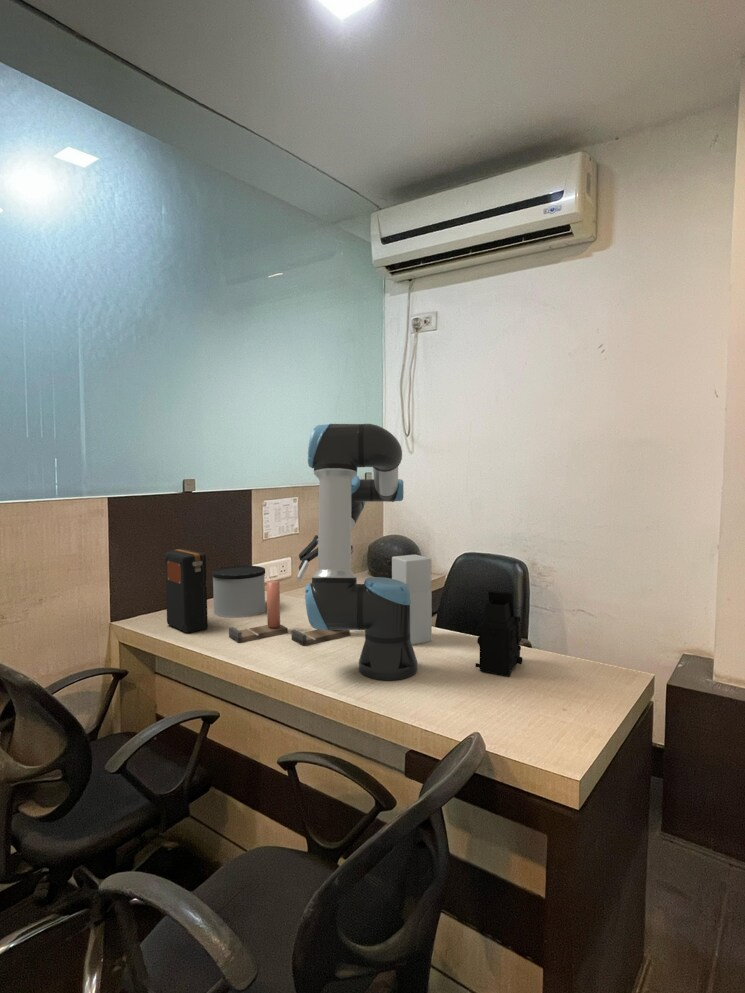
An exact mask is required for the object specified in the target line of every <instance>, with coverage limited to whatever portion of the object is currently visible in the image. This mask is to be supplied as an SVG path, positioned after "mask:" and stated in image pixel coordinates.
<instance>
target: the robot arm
mask: <svg viewBox="0 0 745 993" xmlns="http://www.w3.org/2000/svg"><path fill="white" fill-rule="evenodd" d="M308 441H309V442H308V445H307V447H308V448H307V464H308V467H309V468H311V469H313V474H314V476H315V477H316V478H318V480H319V485H318V489H319V490H318V493H319V494H318V535H317V534H316V535H314V537H313V539H312V541H311V542H310V543H308V545H307V546H305V547H304V549H302V551H301V552H300V553H299V554H298V557H299V561H301V562H300V564H299V565H298V570H299V572H298V573H297V575H296V578H297V582H301V581H302V579H303V577H304V575H305V573H306V570H307V569H308V567H309V563H310V562H311V561H312V560H314V559H315V558H317V571H316V572H315V573H314V574H313V575H312V576H311V583H310V582H309V583H308V584H306V585H305V591H304V593H305V594H304V599H305V609H306V610H305V611H306V615H307V619H308V622H309V624H310V627H312V628H313V630H317V629H320V630H328V631H330V630H350V631H364V633H365V634H364V636H365V638H364V639H365V640H364V642H363V646H362V649H361V653H360V656H359V659H358V672H359V673H360V675H363V676H364V677H367V678H370V679H372V680H379V681H396V680H404V679H406V678H410V677H412V676H413V675H415V674H417V672H418V659H417V656H416V653H415V650H414V647H413V645H412V643H411V640H410V604H411V600H410V590H409V587H408V586H407V585H406V584H405V583H403V582H401V581H398V580H395V579H392V578H389V577H380V576H375V577H373V576H371V577H367V578H365V580H364V583H358V582H357V581H358V580H357V579H358V576H357V575H356V574H355V573H354V572H353V571H352V554H353V552H354V547H353V545H352V532H353V530H354V528H355V526H356V523H357V522H358V519H360V516H361V514H362V511H363V510H364V508H365V505H366V503H367V502H368V503H369V502H371V503H373V502H378V503H379V502H382V503H383V502H386V503H389V502H392V503H394V502H402V501H403V500H404V494H405V493H404V480H403V479H399V466H400V464H401V463H402V459H403V450H402V446H401V444H400V442H399V440H398V439H397V437H396V436H395V435H393V434H392V433H391V432H390V431H389V430H387V429H385V428H384V427H382V426H380V425H377V424H373V423H328V424H327V423H326V424H318V425H316V426H314V427H313V429H312V430H311V434H310V437H309V440H308ZM358 468H372V472H373V478H372V479H371V478H370V479H368V478H365V479H363V478H362V479H361V478H359V476H358ZM317 546H318V547H317ZM316 547H317V548H316Z"/></svg>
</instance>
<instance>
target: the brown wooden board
mask: <svg viewBox="0 0 745 993" xmlns="http://www.w3.org/2000/svg"><path fill="white" fill-rule="evenodd" d="M350 631H351V630H330V631H328V630H320V629H313V630H309V631H304V632H303V631H299V630H297V629H292V630H291V632H290V633H291V641H293V642H295V643H296V644H298V645H300V646H302V647H304V646H308V645H313V644H317V643H321V642H326V641H330V640H335V639H339V638H344V637H348V636H351V634H350V633H351V632H350Z"/></svg>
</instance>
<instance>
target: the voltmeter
mask: <svg viewBox="0 0 745 993" xmlns="http://www.w3.org/2000/svg"><path fill="white" fill-rule="evenodd" d="M164 567H165V569H164V572H165V595H166V596H165V598H166V600H165V602H166V605H165V606H166V623H167V625H169V626H171V627H174V628H176V629H178V630H180V631H182V632H185V633H187V634H189V633H194V632H197V631H202V630H204V631H206V630H207V629H208V627H209V626H208V621H209V619H208V591H207V590H208V589H207V555H206V554H205V553H204V552H199V551H194V550H192V549H191V550H190V549H185V548H181V549H180V548H178V549H173V550H172V551H166V552H165V554H164Z"/></svg>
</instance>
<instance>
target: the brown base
mask: <svg viewBox="0 0 745 993" xmlns="http://www.w3.org/2000/svg"><path fill="white" fill-rule="evenodd" d="M288 630H289V629H288V627H286V626H284V625H283V624H281V623H280V626H279V627H268V624H266V625H260V626H256V627H250V628H248V627H245V628H244V629H237V628H236V627H234V626H230V627H228V638H230V639H231V640H232V641H235V643H237V644H239V643H244V642H248V641H253V640H259V639H264V638H269V637H272V636H274V637H275V636H278V635H283V634H288Z"/></svg>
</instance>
